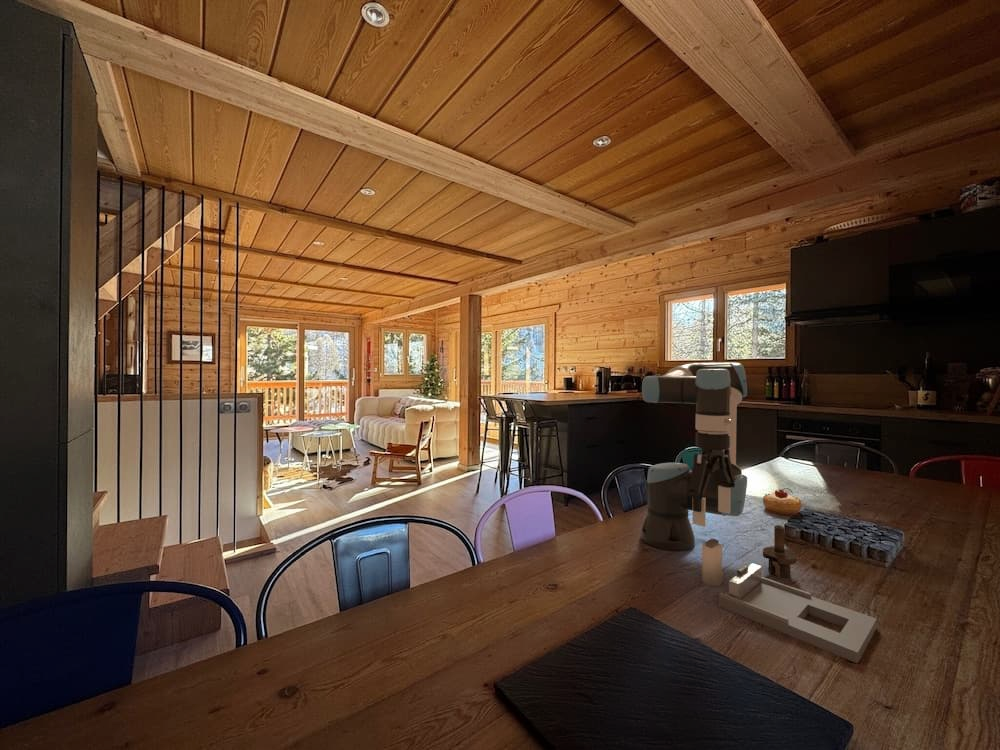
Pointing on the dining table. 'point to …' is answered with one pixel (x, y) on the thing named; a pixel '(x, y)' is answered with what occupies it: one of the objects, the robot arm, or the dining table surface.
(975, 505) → the dining table surface
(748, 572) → the lock bar
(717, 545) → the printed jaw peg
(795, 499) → the pastry
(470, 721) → the dining table surface
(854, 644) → the housing plate
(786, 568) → the industrial component
